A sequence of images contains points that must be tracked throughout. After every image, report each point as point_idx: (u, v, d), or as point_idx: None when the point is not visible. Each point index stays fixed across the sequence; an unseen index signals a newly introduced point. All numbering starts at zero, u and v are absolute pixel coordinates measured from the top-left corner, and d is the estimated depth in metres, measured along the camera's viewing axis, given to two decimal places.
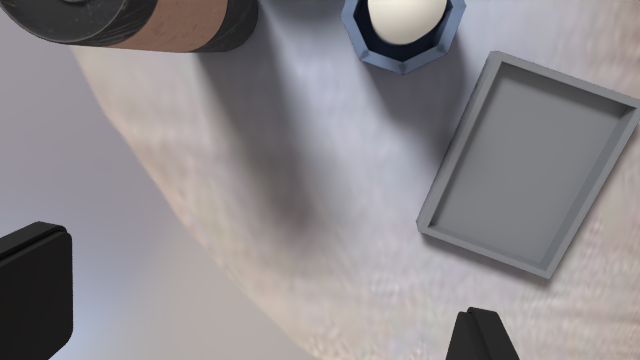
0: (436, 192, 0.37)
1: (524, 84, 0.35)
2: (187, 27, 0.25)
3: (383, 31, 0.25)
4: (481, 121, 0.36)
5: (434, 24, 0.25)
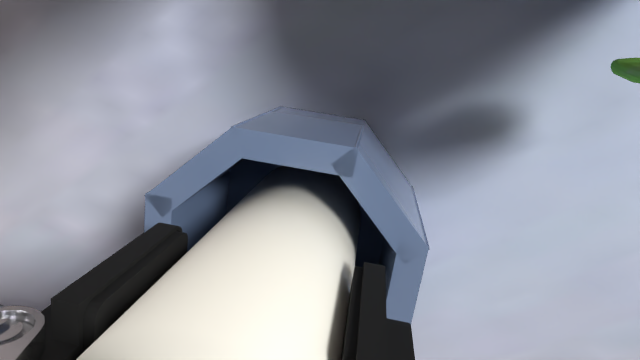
0: None
1: None
2: None
3: None
4: None
5: None
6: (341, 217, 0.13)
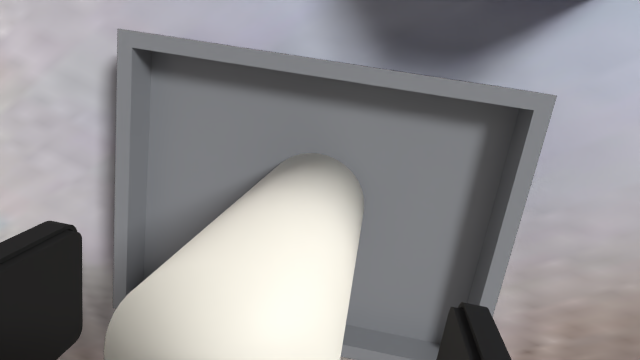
0: (215, 46, 0.16)
1: (476, 171, 0.17)
2: None
3: (113, 323, 0.08)
4: (389, 108, 0.17)
5: None
6: (346, 200, 0.14)
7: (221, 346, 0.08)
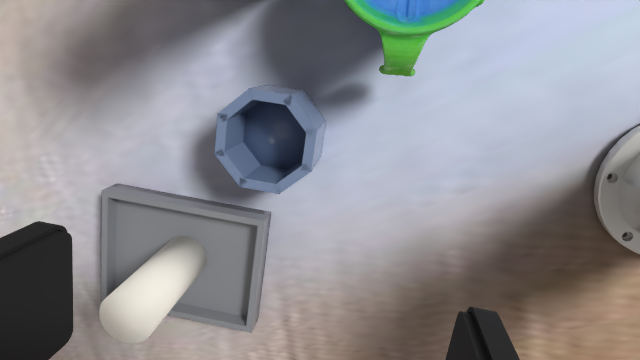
0: (139, 198, 0.41)
1: (248, 244, 0.42)
2: None
3: (101, 305, 0.33)
4: (212, 219, 0.42)
5: (115, 337, 0.33)
6: (186, 262, 0.39)
7: (127, 311, 0.33)
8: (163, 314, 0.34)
